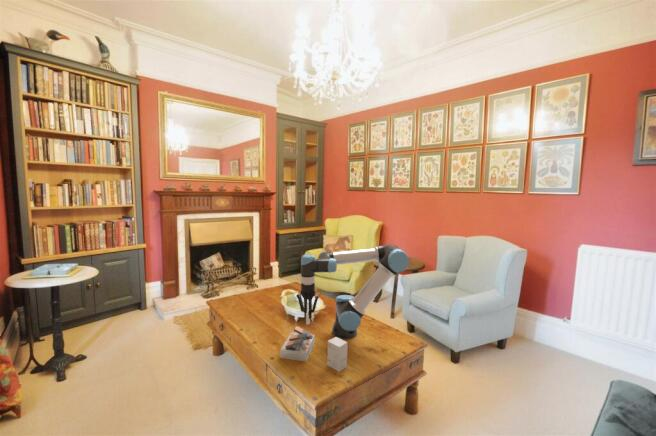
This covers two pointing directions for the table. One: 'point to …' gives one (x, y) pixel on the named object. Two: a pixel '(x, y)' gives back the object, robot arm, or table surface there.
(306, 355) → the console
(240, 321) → the table surface
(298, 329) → the rocker
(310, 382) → the table surface
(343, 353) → the small box
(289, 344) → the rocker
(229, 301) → the table surface
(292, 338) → the rocker
